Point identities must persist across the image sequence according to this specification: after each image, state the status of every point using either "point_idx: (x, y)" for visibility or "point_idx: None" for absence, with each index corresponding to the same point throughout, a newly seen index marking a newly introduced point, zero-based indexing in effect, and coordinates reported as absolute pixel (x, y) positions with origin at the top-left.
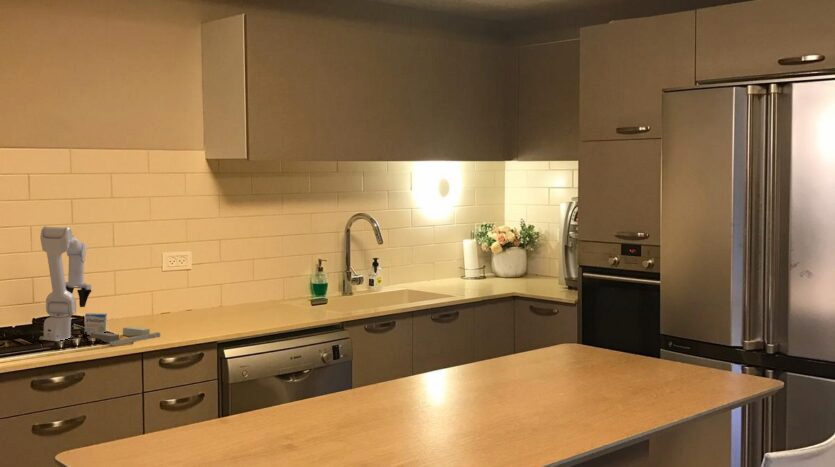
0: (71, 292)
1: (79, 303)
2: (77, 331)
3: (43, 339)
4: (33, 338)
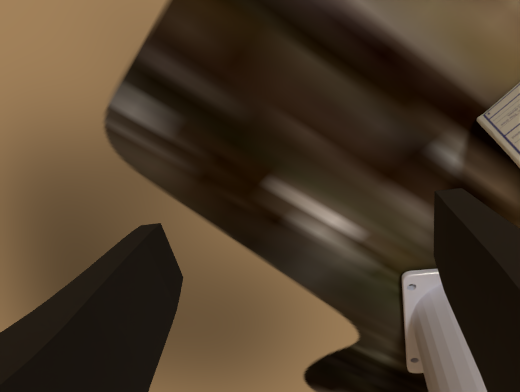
0: (43, 388)
1: (451, 307)
2: (303, 79)
3: (422, 368)
4: (340, 364)
